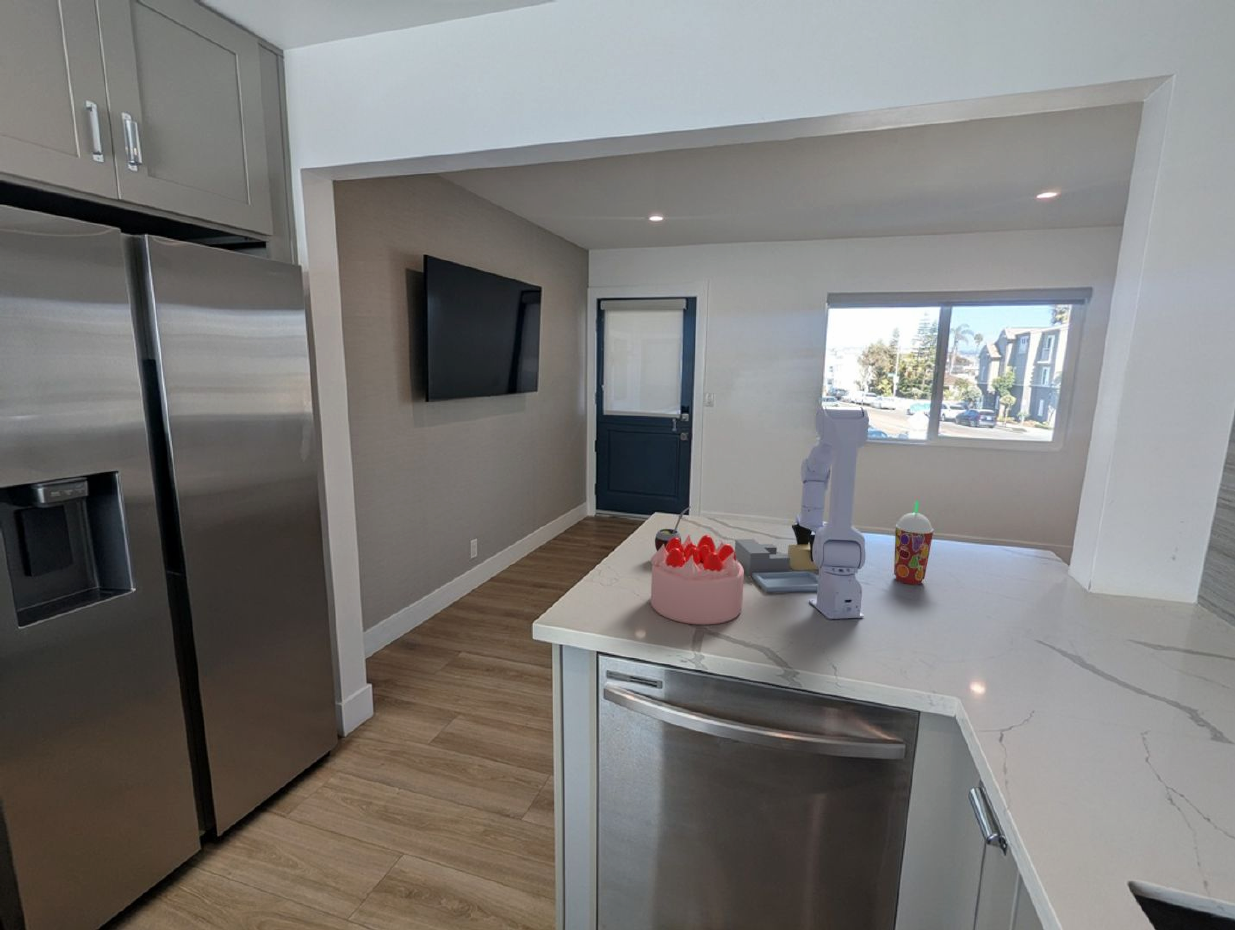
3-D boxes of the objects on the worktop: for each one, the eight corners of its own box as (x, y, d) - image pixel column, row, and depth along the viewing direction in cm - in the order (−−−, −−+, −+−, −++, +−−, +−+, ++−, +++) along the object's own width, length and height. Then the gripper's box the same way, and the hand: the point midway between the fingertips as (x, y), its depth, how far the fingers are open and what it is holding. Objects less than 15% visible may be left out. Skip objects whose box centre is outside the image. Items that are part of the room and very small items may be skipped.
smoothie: (919, 575, 148) (927, 498, 144) (933, 587, 140) (942, 506, 136) (885, 573, 149) (892, 497, 145) (897, 586, 141) (905, 505, 137)
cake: (748, 628, 117) (752, 560, 114) (648, 623, 118) (650, 556, 116) (735, 590, 136) (738, 531, 134) (649, 587, 137) (651, 529, 135)
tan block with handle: (833, 569, 152) (835, 548, 151) (793, 570, 151) (795, 549, 150) (825, 563, 156) (827, 544, 155) (787, 564, 155) (788, 544, 154)
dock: (788, 575, 147) (790, 552, 146) (749, 576, 145) (750, 553, 144) (771, 559, 158) (772, 538, 157) (734, 561, 156) (735, 539, 155)
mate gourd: (648, 559, 156) (650, 505, 154) (669, 553, 162) (670, 500, 159) (669, 567, 151) (671, 510, 148) (689, 560, 156) (691, 506, 154)
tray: (827, 591, 137) (828, 585, 136) (766, 593, 135) (767, 587, 134) (810, 576, 146) (810, 571, 145) (752, 578, 144) (752, 573, 143)
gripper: (841, 513, 144) (837, 565, 146) (814, 499, 158) (810, 547, 160) (814, 513, 143) (810, 566, 145) (789, 499, 157) (786, 548, 159)
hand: (808, 556), depth 153 cm, fingers open, 7 cm apart
